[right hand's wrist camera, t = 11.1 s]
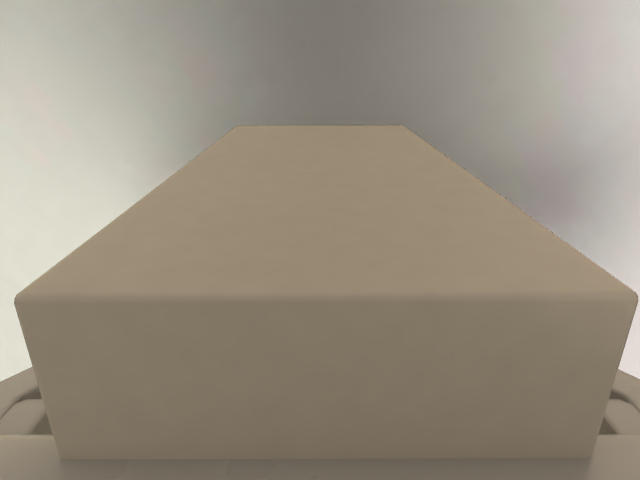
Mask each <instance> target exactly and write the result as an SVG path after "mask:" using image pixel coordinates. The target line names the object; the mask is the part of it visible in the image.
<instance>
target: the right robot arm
mask: <svg viewBox="0 0 640 480" xmlns="http://www.w3.org/2000/svg"><path fill="white" fill-rule="evenodd" d="M0 480H640V379H638V378H636V377H634V376H632V375H629V374H627V373H625V372H623V371H621V370H619V369H618V370H617V373H616V377H615V380H614V383H613V387H612V390H611V393H610V397H609V400H608V403H607V407H606V410H605V413H604V417H603V420H602V423H601V427H600V430H599V433H598V437H597V440H596V443H595V447H594V450H593V453H592V457H589V458H450V459H141V460H63V459H60V458H59V455H58V451H57V448H56V444H55V441H54V438H53V434H52V431H51V427H50V424H49V420H48V417H47V414H46V410H45V407H44V403H43V400H42V397H41V393H40V390H39V386H38V383H37V379H36V376H35V373H34V369H33V367H31V368H29V369H27V370H25V371H22V372H20V373H18V374H16V375H14V376H12V377H10V378H8V379H5V380H3V381H1V382H0Z"/></svg>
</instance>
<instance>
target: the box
mask: <svg viewBox="0 0 640 480" xmlns="http://www.w3.org/2000/svg"><path fill="white" fill-rule="evenodd" d="M637 303H638V295H637V294H636V292H634V291H633V290H632V289H630V288H629V287H628V286H626V285H625V284H623V283H622V282H621V281H619V280H618V279H616V278H615V277H614V276H612V275H611V274H609V273H608V272H607V271H605V270H604V269H602V268H601V267H600V266H598V265H597V264H595V263H594V262H593V261H591V260H590V259H589V258H587V257H586V256H584V255H583V254H582V253H580V252H579V251H577V250H576V249H575V248H573V247H572V246H570V245H569V244H568V243H566V242H565V241H563V240H562V239H561V238H559V237H558V236H556V235H555V234H554V233H552V232H551V231H550V230H548V229H547V228H545V227H544V226H543V225H541V224H540V223H538V222H537V221H536V220H534V219H533V218H531V217H530V216H529V215H527V214H526V213H524V212H523V211H522V210H520V209H519V208H517V207H516V206H515V205H513V204H512V203H511V202H509V201H508V200H506V199H505V198H504V197H502V196H501V195H499V194H498V193H497V192H495V191H494V190H492V189H491V188H490V187H488V186H487V185H485V184H484V183H483V182H481V181H480V180H478V179H477V178H476V177H474V176H473V175H472V174H470V173H469V172H467V171H466V170H465V169H463V168H462V167H460V166H459V165H458V164H456V163H455V162H453V161H452V160H451V159H449V158H448V157H446V156H445V155H444V154H442V153H441V152H440V151H438V150H437V149H435V148H434V147H433V146H431V145H430V144H428V143H427V142H426V141H424V140H423V139H421V138H420V137H419V136H417V135H416V134H414V133H413V132H412V131H410V130H409V129H407V128H406V127H405V126H403V125H329V126H236V127H235V128H234V129H232V130H231V131H230V132H228V133H227V134H226V135H224V136H223V137H222V138H221V139H219V140H218V141H217V142H215V143H214V144H213V145H211V146H210V147H209V148H207V149H206V150H205V151H204V152H202V153H201V154H200V155H198V156H197V157H196V158H194V159H193V160H192V161H190V162H189V163H188V164H187V165H185V166H184V167H183V168H181V169H180V170H179V171H177V172H176V173H175V174H174V175H172V176H171V177H170V178H168V179H167V180H166V181H164V182H163V183H162V184H160V185H159V186H158V187H157V188H155V189H154V190H153V191H151V192H150V193H149V194H147V195H146V196H145V197H143V198H142V199H141V200H140V201H138V202H137V203H136V204H134V205H133V206H132V207H130V208H129V209H128V210H127V211H125V212H124V213H123V214H121V215H120V216H119V217H117V218H116V219H115V220H113V221H112V222H111V223H110V224H108V225H107V226H106V227H104V228H103V229H102V230H100V231H99V232H98V233H96V234H95V235H94V236H93V237H91V238H90V239H89V240H87V241H86V242H85V243H83V244H82V245H81V246H80V247H78V248H77V249H76V250H74V251H73V252H72V253H70V254H69V255H68V256H66V257H65V258H64V259H63V260H61V261H60V262H59V263H57V264H56V265H55V266H53V267H52V268H51V269H49V270H48V271H47V272H46V273H44V274H43V275H42V276H40V277H39V278H38V279H36V280H35V281H34V282H33V283H31V284H30V285H29V286H27V287H26V288H25V289H23V290H22V291H21V292H19V293H18V294H17V295H16V297H15V301H14V304H15V308H16V311H17V314H18V318H19V321H20V325H21V328H22V331H23V335H24V338H25V342H26V345H27V349H28V352H29V355H30V359H31V362H32V366H33V369H34V373H35V376H36V379H37V383H38V386H39V390H40V393H41V397H42V400H43V403H44V407H45V410H46V414H47V417H48V420H49V424H50V427H51V431H52V434H53V438H54V441H55V444H56V448H57V451H58V455H59V458H60V459H63V460H141V459H450V458H589V457H592V453H593V450H594V447H595V443H596V440H597V437H598V433H599V430H600V427H601V423H602V420H603V417H604V413H605V410H606V407H607V403H608V400H609V397H610V393H611V390H612V387H613V383H614V380H615V377H616V373H617V370H618V367H619V363H620V360H621V357H622V353H623V350H624V347H625V343H626V340H627V337H628V333H629V330H630V327H631V323H632V320H633V317H634V313H635V310H636V307H637Z"/></svg>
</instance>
